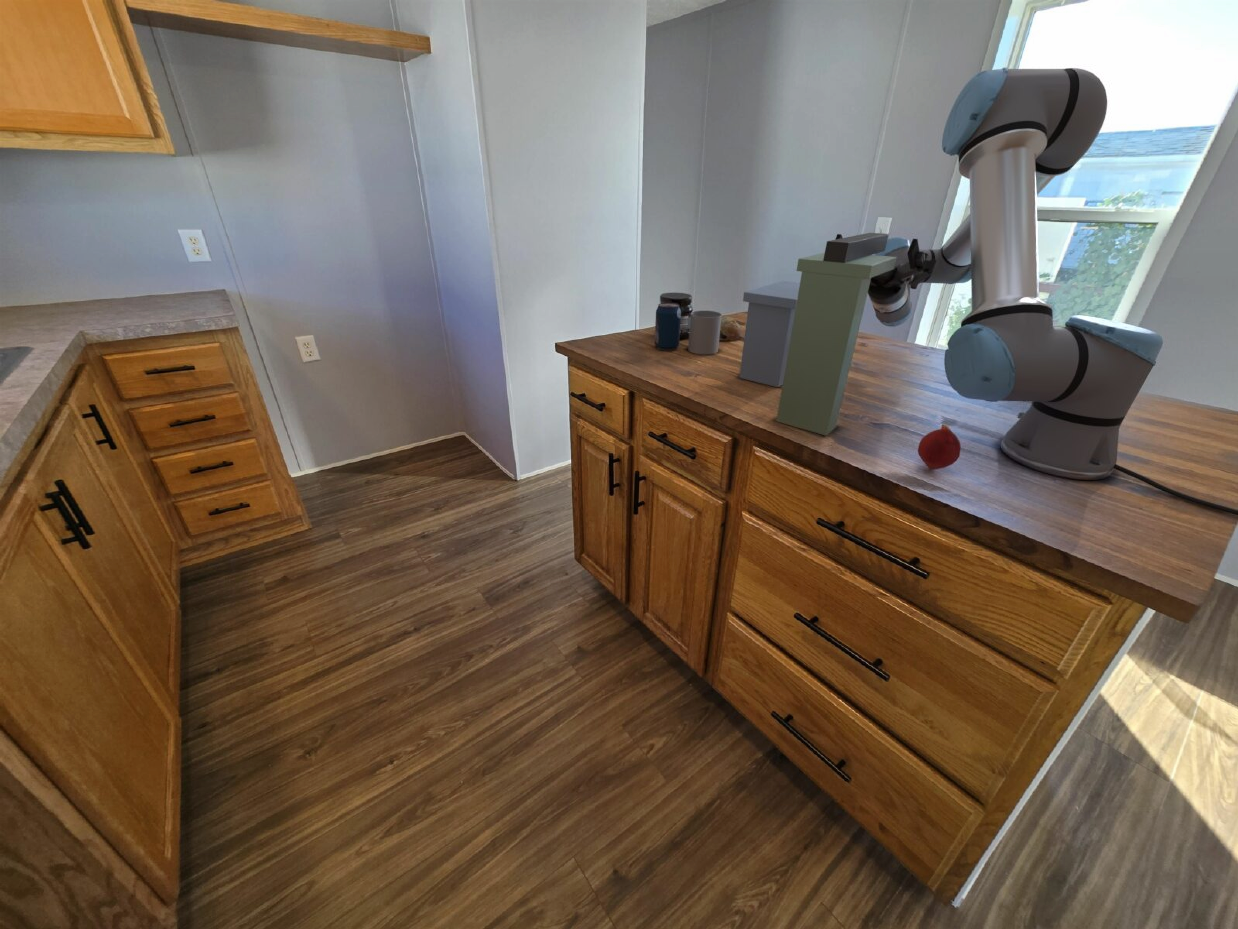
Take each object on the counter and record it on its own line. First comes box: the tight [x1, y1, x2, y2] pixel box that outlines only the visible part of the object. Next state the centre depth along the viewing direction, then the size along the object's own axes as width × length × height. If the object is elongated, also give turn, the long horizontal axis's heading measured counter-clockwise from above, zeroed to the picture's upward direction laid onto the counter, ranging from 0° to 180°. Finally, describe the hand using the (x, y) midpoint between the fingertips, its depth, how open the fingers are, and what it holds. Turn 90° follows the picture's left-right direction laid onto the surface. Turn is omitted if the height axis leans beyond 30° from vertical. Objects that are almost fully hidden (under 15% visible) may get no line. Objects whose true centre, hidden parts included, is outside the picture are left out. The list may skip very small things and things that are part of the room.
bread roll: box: [719, 315, 741, 342], centre depth 153 cm, size 10×10×8 cm
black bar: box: [823, 232, 890, 263], centre depth 89 cm, size 4×22×3 cm, turn 140°
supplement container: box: [659, 292, 694, 340], centre depth 152 cm, size 10×10×12 cm
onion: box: [917, 423, 962, 471], centre depth 82 cm, size 6×6×8 cm
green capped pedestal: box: [775, 252, 897, 437], centre depth 94 cm, size 12×14×30 cm
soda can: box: [654, 302, 681, 352], centre depth 141 cm, size 7×7×12 cm
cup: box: [687, 310, 723, 355], centre depth 140 cm, size 8×8×10 cm
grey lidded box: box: [738, 280, 800, 388], centre depth 120 cm, size 12×20×20 cm, turn 140°
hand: (873, 243), depth 95 cm, fingers open, 13 cm apart
